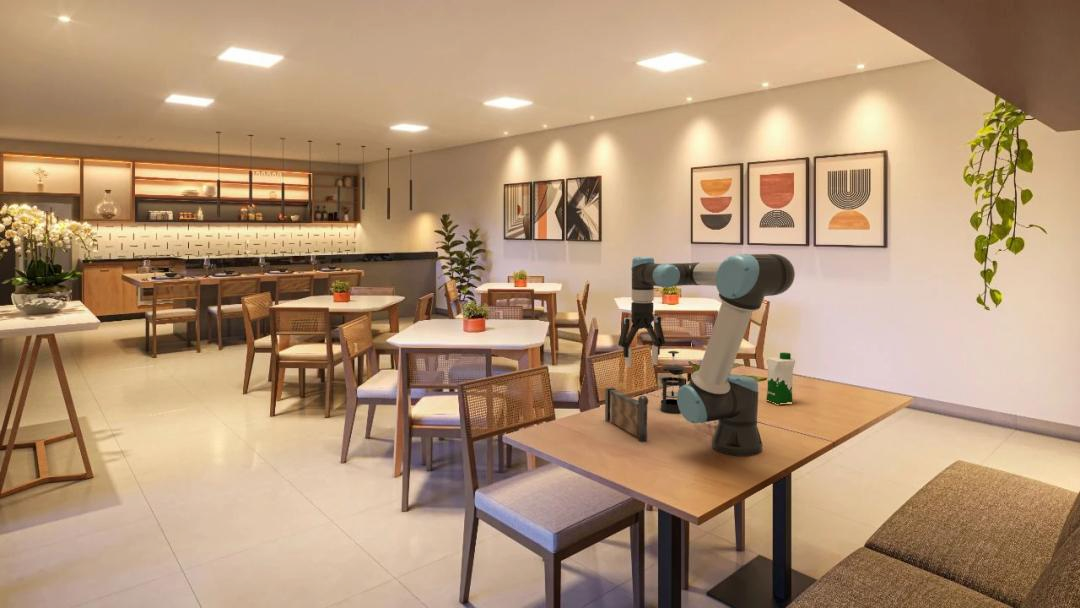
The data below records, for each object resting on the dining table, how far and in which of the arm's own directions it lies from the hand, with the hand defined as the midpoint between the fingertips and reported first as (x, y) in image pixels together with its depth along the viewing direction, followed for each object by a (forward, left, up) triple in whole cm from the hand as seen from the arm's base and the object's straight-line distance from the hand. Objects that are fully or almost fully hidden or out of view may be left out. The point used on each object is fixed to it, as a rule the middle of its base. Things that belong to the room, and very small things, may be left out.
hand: (641, 365), depth 217 cm
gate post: (-14, +7, -22) cm, 27 cm away
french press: (+14, -22, -22) cm, 34 cm away
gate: (-2, +7, -21) cm, 22 cm away
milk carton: (+8, -67, -22) cm, 71 cm away
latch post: (+10, +7, -22) cm, 25 cm away
